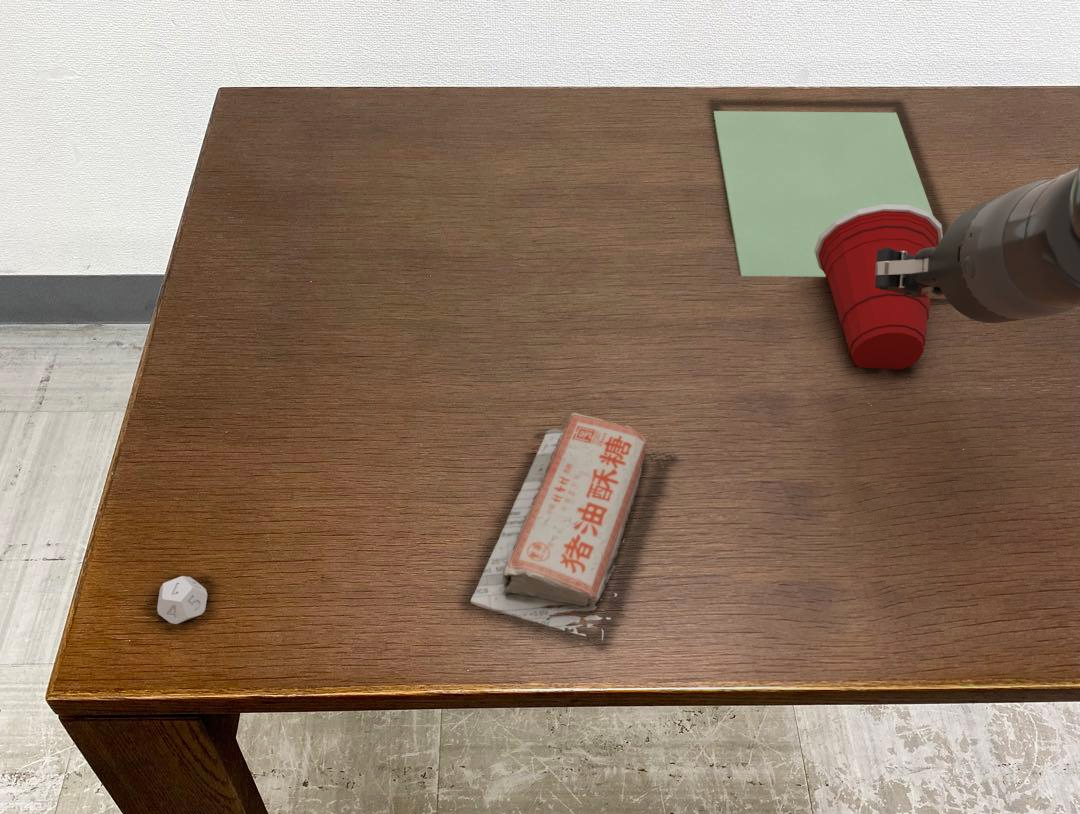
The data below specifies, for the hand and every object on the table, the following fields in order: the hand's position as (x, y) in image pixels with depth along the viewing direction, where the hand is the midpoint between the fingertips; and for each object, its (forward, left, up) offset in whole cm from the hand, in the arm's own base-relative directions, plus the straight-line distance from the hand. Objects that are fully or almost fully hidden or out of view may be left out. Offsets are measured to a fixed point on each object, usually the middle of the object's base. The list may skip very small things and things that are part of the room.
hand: (920, 283), depth 77 cm
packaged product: (+26, +15, -12) cm, 32 cm away
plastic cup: (0, -2, -9) cm, 9 cm away
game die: (+54, +22, -12) cm, 60 cm away
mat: (0, -27, -12) cm, 30 cm away
